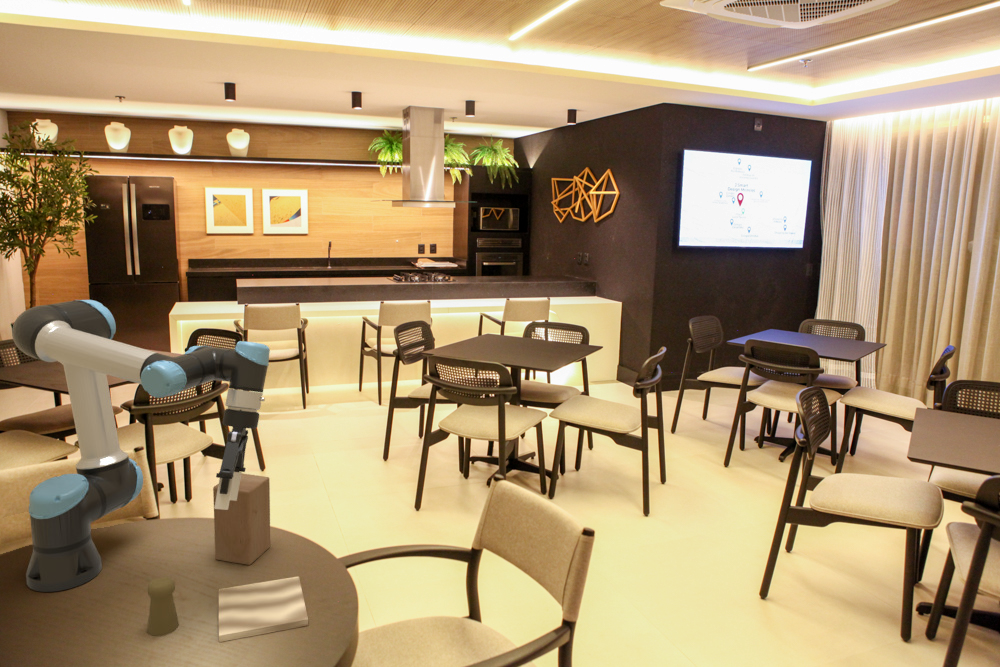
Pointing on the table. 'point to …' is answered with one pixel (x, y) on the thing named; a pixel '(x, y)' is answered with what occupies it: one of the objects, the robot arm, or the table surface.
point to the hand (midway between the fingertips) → (226, 504)
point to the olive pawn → (162, 607)
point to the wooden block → (244, 522)
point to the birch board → (261, 608)
